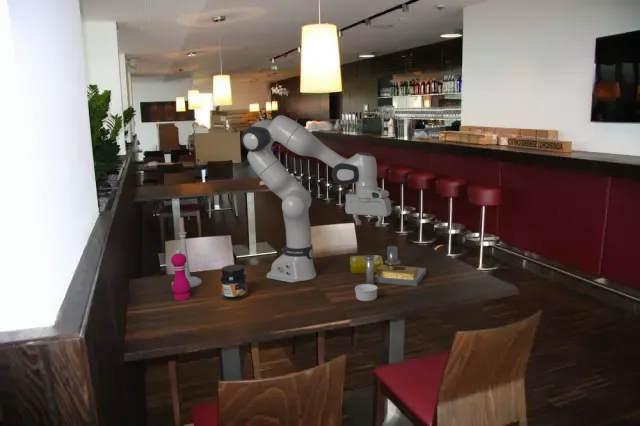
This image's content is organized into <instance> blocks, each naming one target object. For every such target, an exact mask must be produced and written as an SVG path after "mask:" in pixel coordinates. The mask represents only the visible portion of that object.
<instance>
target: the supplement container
mask: <svg viewBox="0 0 640 426" xmlns="http://www.w3.org/2000/svg"><path fill="white" fill-rule="evenodd" d="M220 274H221V275H220V278H219V279H220V288H221V297H222V298H223V299H224V300H226V301H227V300H228V301H239V300H242V299H245V298H246V297H247V296H248V294H249V291H248V275H247V273H246V267H245V265H242V264H228V265H225V266H223V267H221V269H220Z"/></svg>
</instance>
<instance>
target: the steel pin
mask: <svg viewBox="0 0 640 426" xmlns="http://www.w3.org/2000/svg"><path fill="white" fill-rule="evenodd" d="M364 256H365V259H366V273H365V280H366V281H365V284H372V285H375V278H374V277H375V276H374V275H375V272H374V260H373V259H374V256H373V255H372V254H367V255H364Z"/></svg>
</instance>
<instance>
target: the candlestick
mask: <svg viewBox="0 0 640 426" xmlns="http://www.w3.org/2000/svg"><path fill="white" fill-rule="evenodd" d="M178 226H179V232H178V233H177V234H178V235H179V238H180V253H181V254H184V255H185V256H186V259H187V261H186V263H185V265H186V269H185V275H186V278H187V279H188V281H189V283H190V288H195V287H197V286H199V285H201V284H202V279H201V278H199V277H198V276H191V272H190V264H189V256H188V249H187V245H186V244H187V243H186V236H187V235H186V234H187V231H185V221H184V217H182V216H180V217H178ZM172 284H173V281H172V282H171V285H172Z"/></svg>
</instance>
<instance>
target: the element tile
mask: <svg viewBox="0 0 640 426" xmlns="http://www.w3.org/2000/svg"><path fill="white" fill-rule="evenodd" d="M365 256H366V255H351V256H350V257H349V267H350V269H349V270H350V272H351V273H353V274H361V273H362V274H364V273H365V274H366V259H365ZM373 256H374V259H373V260H374V273H377V268H378V267H379V266H381V265H384V261H383V256H381V255H375V254H374V255H373Z"/></svg>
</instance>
